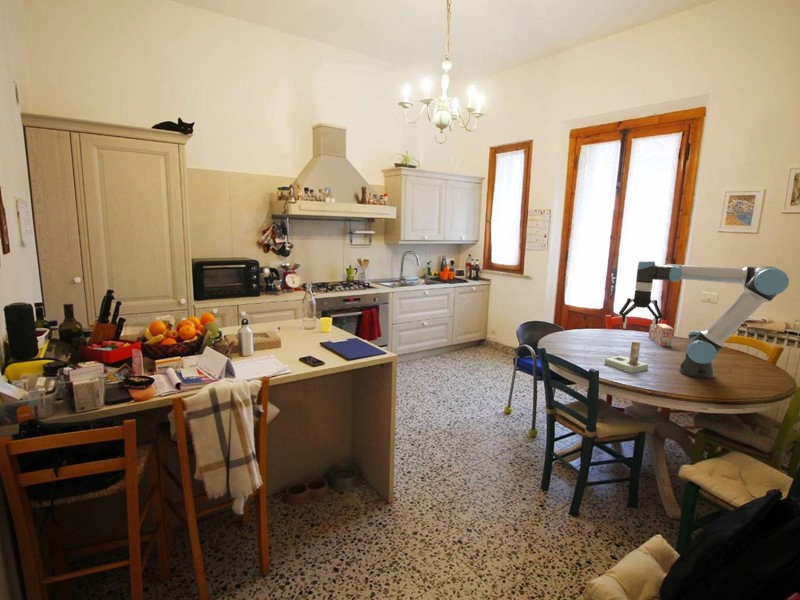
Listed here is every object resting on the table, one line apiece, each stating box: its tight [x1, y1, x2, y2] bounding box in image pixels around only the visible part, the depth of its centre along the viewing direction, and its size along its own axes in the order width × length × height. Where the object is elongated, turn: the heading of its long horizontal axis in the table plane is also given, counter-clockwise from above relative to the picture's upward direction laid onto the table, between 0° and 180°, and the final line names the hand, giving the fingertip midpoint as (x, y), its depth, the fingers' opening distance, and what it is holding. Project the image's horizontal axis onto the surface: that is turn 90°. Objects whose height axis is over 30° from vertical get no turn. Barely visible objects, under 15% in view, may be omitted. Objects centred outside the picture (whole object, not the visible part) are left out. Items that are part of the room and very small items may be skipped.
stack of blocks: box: [648, 323, 674, 347], centre depth 280 cm, size 21×6×12 cm, turn 169°
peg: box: [629, 341, 641, 365], centre depth 224 cm, size 4×4×15 cm
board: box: [604, 355, 649, 374], centre depth 228 cm, size 16×14×3 cm
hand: (638, 329), depth 221 cm, fingers open, 13 cm apart
